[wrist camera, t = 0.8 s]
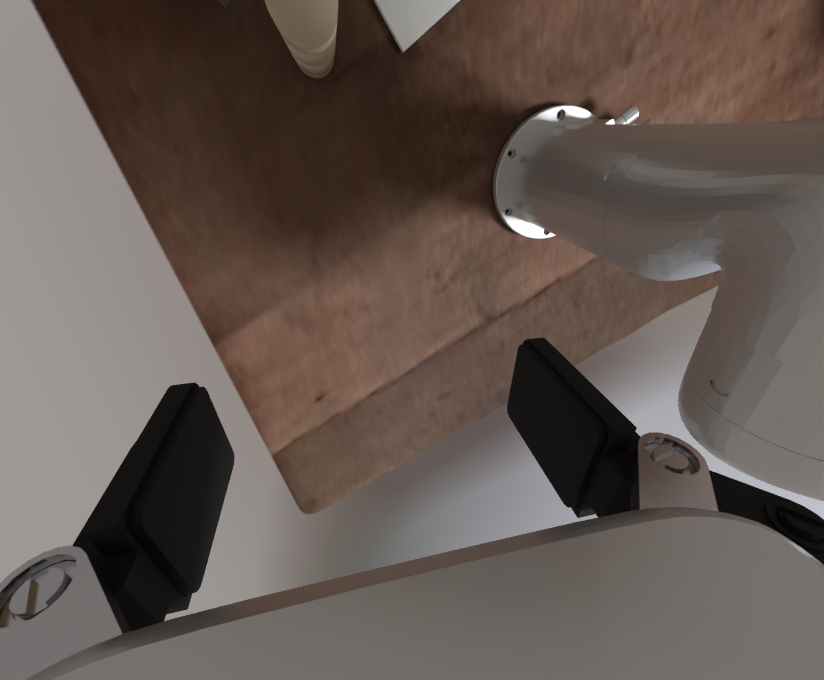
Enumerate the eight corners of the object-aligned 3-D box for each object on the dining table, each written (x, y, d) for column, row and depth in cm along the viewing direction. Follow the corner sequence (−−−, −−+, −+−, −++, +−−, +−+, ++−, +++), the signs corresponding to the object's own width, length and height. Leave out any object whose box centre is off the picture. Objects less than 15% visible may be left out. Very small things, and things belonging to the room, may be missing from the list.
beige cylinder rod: (314, 16, 26) (301, -80, 14) (342, 60, 28) (353, 10, 16) (284, 46, 27) (245, -20, 15) (313, 88, 29) (301, 60, 16)
